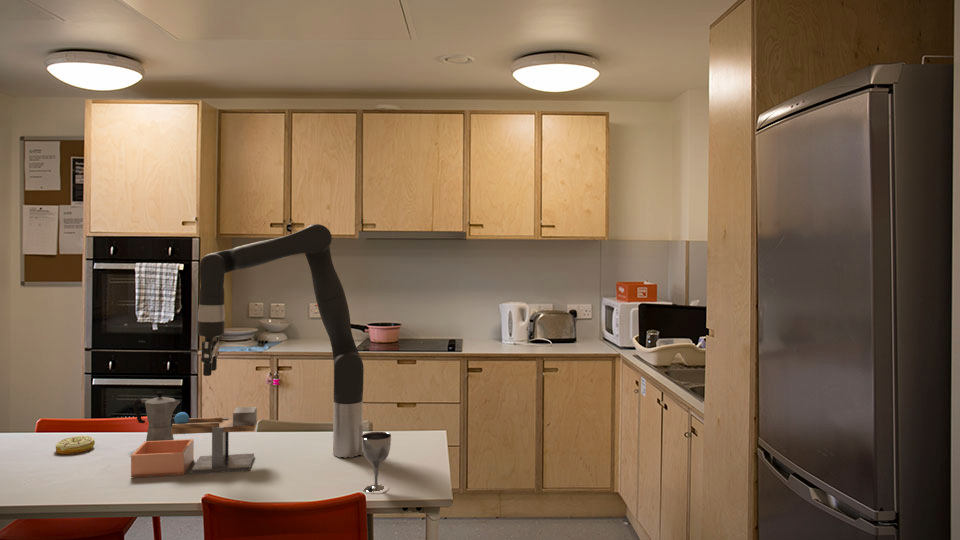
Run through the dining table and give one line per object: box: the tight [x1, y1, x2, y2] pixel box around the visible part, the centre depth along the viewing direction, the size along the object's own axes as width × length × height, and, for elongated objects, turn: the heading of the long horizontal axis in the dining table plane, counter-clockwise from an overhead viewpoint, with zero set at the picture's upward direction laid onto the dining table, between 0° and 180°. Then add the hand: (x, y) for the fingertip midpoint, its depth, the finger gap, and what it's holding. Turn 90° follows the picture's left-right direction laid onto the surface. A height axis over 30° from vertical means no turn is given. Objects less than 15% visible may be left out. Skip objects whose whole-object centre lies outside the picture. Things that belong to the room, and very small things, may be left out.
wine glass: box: [362, 431, 392, 493], centre depth 183 cm, size 8×8×15 cm
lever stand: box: [190, 417, 255, 475], centre depth 200 cm, size 16×13×13 cm
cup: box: [130, 438, 195, 478], centre depth 197 cm, size 14×14×6 cm
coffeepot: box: [132, 391, 181, 441], centre depth 219 cm, size 15×9×18 cm, turn 92°
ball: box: [173, 411, 190, 424], centre depth 197 cm, size 4×4×4 cm
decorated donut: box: [55, 435, 96, 455], centre depth 213 cm, size 10×11×4 cm
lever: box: [171, 406, 258, 435], centre depth 199 cm, size 23×8×6 cm, turn 103°
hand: (209, 373), depth 199 cm, fingers open, 8 cm apart
